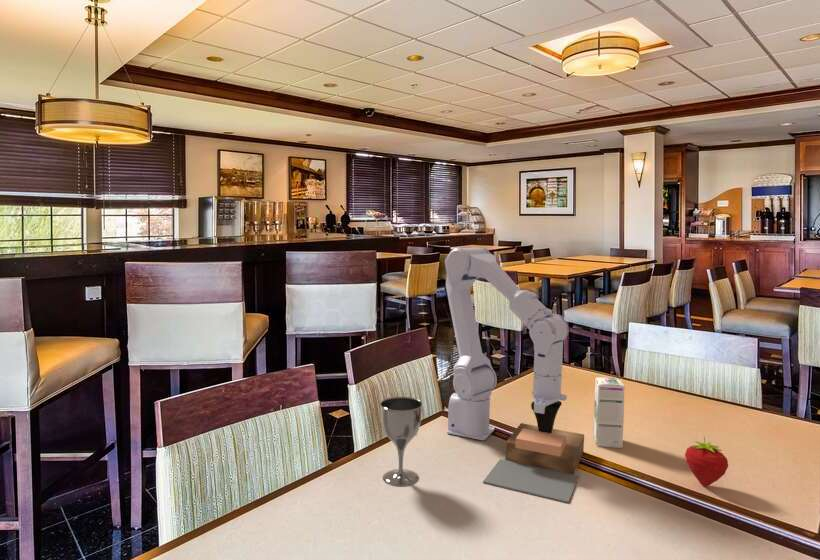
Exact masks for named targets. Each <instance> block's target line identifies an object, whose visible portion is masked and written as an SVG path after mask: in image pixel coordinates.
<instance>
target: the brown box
mask: <svg viewBox="0 0 820 560" xmlns="http://www.w3.org/2000/svg"><path fill="white" fill-rule="evenodd" d="M523 428H524V429H530V430H535V431H539V430H538V425H533V424H528V423H524V422H521V423H519V425H518V426H517V427H516V429H515V430H514V431H513V432H512V433H511V435H510V436H509V438H508V439H507V440H506V441H505V456H504V457H505V459H504V460H508V461H512V462H517V463H522V464H526V465H531V466H536V467H540V468H545V469H550V470H554V471H559V472H564V473H568V474H573V475H575V473H576V471H577V469H578V467H579V464H580V462H581V459H582V457H583V454H584V449H585V447H584V444H585V434H584V433H578V432H573V431H566V430H561V429H556V428H553V430H552V434H557V435H563V436H566V446H565V448H564V450H563V452H562V454H561V456H555V455H550V454H544V453H539V452H534V451H529V450H524V449H519V448H515V447H516V437H517V436H518V435H519V433H520V432H521V431H522V429H523ZM581 456H582V457H581Z"/></svg>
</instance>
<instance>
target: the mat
mask: <svg viewBox="0 0 820 560" xmlns="http://www.w3.org/2000/svg"><path fill="white" fill-rule="evenodd" d="M578 479H579V475H577V474H574V475H573V474H568V473H564V472H559V471H554V470H550V469H545V468H540V467H536V466H531V465H526V464H522V463H517V462H512V461H508V460H505V459H502V458H499V460H497V462H496V464H495V465H494V467H492V469H491V470H490V472H489V473H488V474H487V476H486V477H485V478H484V480H483V481H482V483H483V484H487V485H491V486H493V487H494V486H495V487H500V488H503V489H508V490H511V491H512V490H513V491H516V492H520V493H524V494H529V495H533V496H536V497H537V496H538V497H541V498H543V499H544V498H545V499H549V500H552V501H553V500H554V501H557V502H561V503H565V504H569V503H570V500H571V497H572V495H573V492H574V489H575V487H576V485H577V483H578Z"/></svg>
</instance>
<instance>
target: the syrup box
mask: <svg viewBox="0 0 820 560" xmlns="http://www.w3.org/2000/svg"><path fill="white" fill-rule="evenodd" d="M594 381H595V383H594V387H595V388H594V407H593V408H594V411H593V439H594V442H595V445H596V446H597V447H603V448H604V447H605V448H614V449H615V448H617V449H622V448H623V442H624V441H623V440H624V439H623V438H624V421H625V419H624V417H625V415H624V414H625V412H624V411H625V389H626V387H625V385H624V384H623V381H622V380H621V378H616V377H605V376H604V377H595V379H594Z"/></svg>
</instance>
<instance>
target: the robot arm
mask: <svg viewBox="0 0 820 560" xmlns="http://www.w3.org/2000/svg"><path fill="white" fill-rule="evenodd" d="M444 265H445V271H446V279H445V291H446V295H447V300H448V305H449V311H450V315H451V321H452V325H453V330H454V335H455V342H456V346H457V350H458V351H457V352H458V356H459V358H458V359H457V361H456V362H455V364H454V366H453V379H452V384H453V390H454V391H455V392H453V393H452V394H451V396H450V397H449V402H448V408H447V409H448V411H447V413H448V414H447V415H448V418H447V430H446V434H449V435H453V436H459V437H464V438H470V439H474V440H479V441H485V440H487V439H488V438H489V436H490V435H491V434H492V433H493V432H494V431H495V427H494V426H490V413H491V412H490V410H491V409H490V408H491V395H492V390H494V389H495V387H496V386H497V382H498V378H497V374H496V372H495V370H494V368H493V367H492V364H491V359H489V357H487V356H486V355H485V354H483V350H482V346H481V341H480V334H479V329H478V324H477V319H476V314H475V309H474V305H473V304H474V303H473V298H472V294H471V288H472V286H473V285H474V284H475V282H476V281H477V280H478V279H479V278H482V279H485V280H487V282H489V284H491V285H492V286H493V287H494V288H495V290H497V291H498V292H499V293H500V294H502V295H503V296H504V298H506V299H507V301H509V302H508V303H509V305H508V307H509V310H510V311H511V312H512V313H513V314H514V315H515V316H516V317H517V318H518V319H519V320H520V321H521V323H523V325H525V327H527V329H528V330H529V332H528V333H529V337H530V339H531V341H532V343H533V350H534V354H533V359H534V360H533V384H532V385H533V386H532V391H531V397H532V400H533V401H532V402H531V403H530V407H531V409H532V411H533V413H534V416H535V419H536V423H537V426H538V430H539V431H541V432H546V433H552V430H553V429H554V425H555V420H556V417H557V415H558V412H559V410H560V408H561V406H562V401H563V402H565V401H567V398H568V396H567V394H562V380H563V379H562V377H563V375H562V374H563V356H564V355H563V353H564V352H563V351H564V350H563V349H564V341H565V340H566V339H567V337H568V335H569V331H570V330H569V329H570V327H569V325H568V322H567V321H566V319H565V318H564V316H562V315H561V314H557V313H555V314H554V313H553V311H552V310H551V309H550V308H547V307H546V306H545V305H544V304H543V303H542V302H541V301H540V300H539V299H538V298H537V297H538V295H537V294H536V293H535V291H530V290H527V289H523V290H522V289H521V288H520V287H519V286H518V285H517V284H516V283H515V282H514V280H513V279H512V278H511V277H510V276H509V275H508V274H507V272H506V271H505V270H504V269H503V267H501V265H500V264H499V263H498V262H497V259H496V256H495V255H494V254H492V253H491V252H490V251H489V250H488V248H486V247H484V246H478V247H465V248H464V247H463V248H461V247H455V248H452V249H451V250H450V252H449V253H448V255H447V256H446V258H445V260H444Z"/></svg>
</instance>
